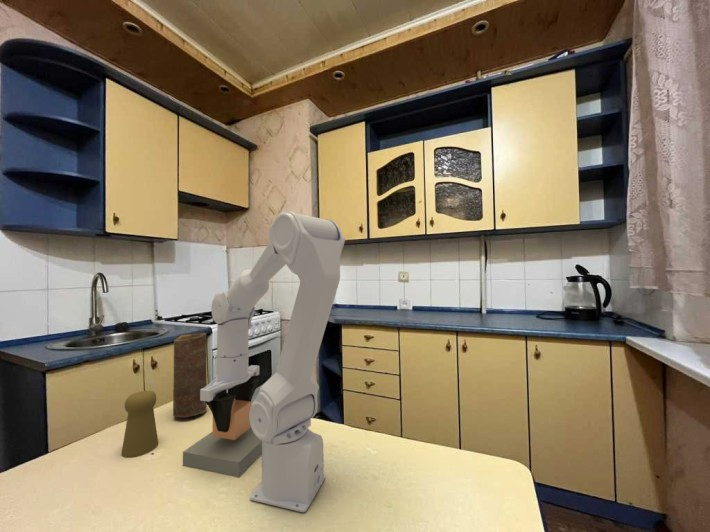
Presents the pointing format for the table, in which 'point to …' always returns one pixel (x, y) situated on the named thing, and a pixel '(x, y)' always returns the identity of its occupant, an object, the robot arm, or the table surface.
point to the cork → (140, 425)
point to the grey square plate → (224, 454)
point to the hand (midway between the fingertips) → (233, 423)
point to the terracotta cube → (236, 421)
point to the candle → (189, 375)
